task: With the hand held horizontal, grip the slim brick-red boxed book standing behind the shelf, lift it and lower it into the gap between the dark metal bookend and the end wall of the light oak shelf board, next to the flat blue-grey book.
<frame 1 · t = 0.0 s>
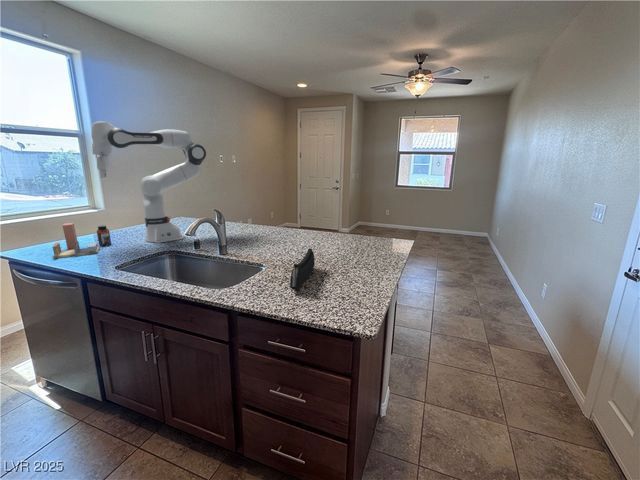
hand: (103, 177, 174), 39 cm above the worktop, tool pointing down, fingers open, 8 cm apart
flat bluegrey book: (93, 251, 170), resting on shelf
supplement bottle: (105, 244, 183), on the worktop
boxed book: (73, 248, 175), on the worktop
shelf: (77, 253, 166), on the worktop
magazine: (303, 280, 135), on the worktop
bookend: (78, 253, 165), resting on shelf
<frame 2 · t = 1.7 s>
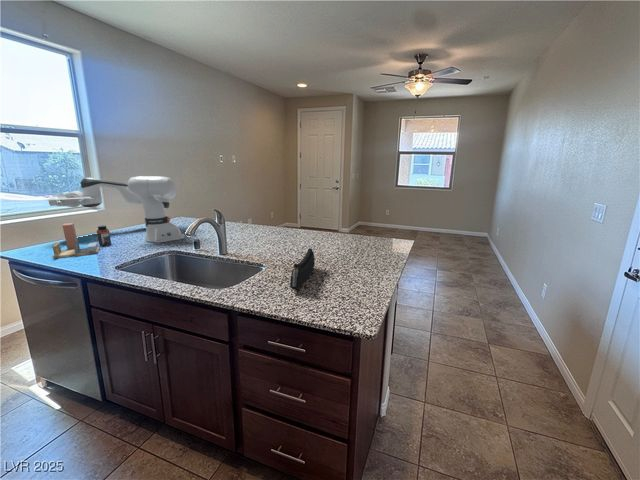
hand: (68, 202, 179), 24 cm above the worktop, tool horizontal, fingers open, 8 cm apart
nothing on the worktop moved.
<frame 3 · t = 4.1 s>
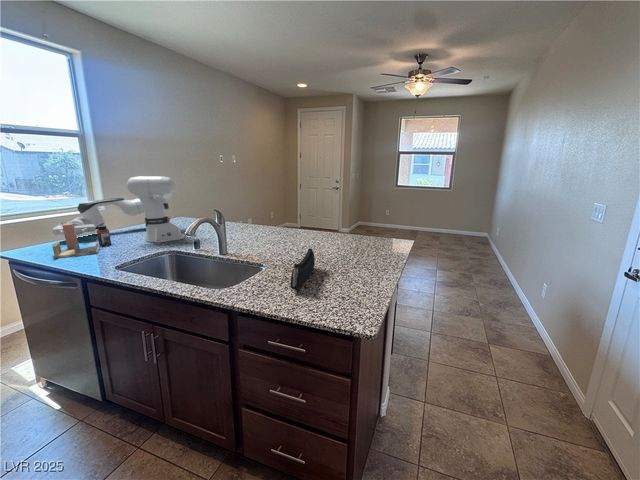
hand: (72, 232, 180), 7 cm above the worktop, tool horizontal, fingers open, 8 cm apart
nothing on the worktop moved.
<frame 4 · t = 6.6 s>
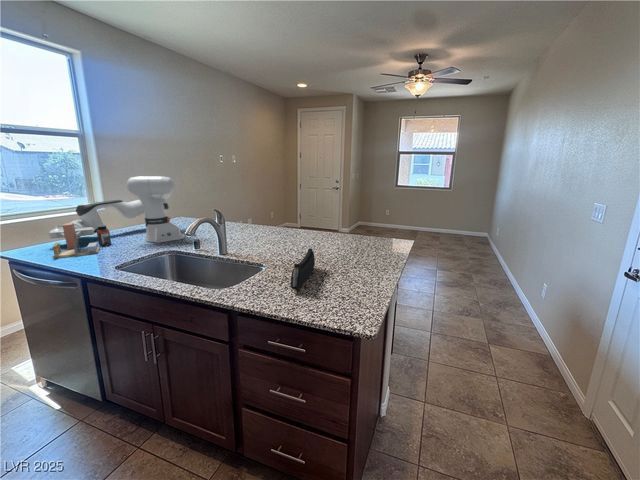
hand: (70, 235, 172), 8 cm above the worktop, tool horizontal, fingers closed on boxed book, 4 cm apart
boxed book: (73, 248, 175), on the worktop, touching gripper
everything else where it was.
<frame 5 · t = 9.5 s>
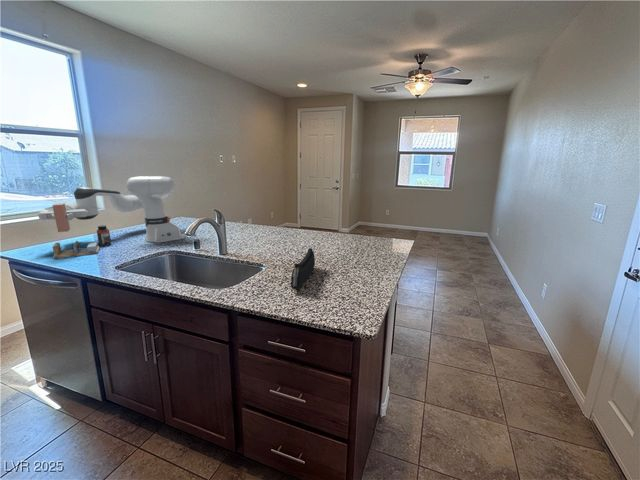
hand: (60, 216, 161), 20 cm above the worktop, tool horizontal, fingers closed on boxed book, 4 cm apart
boxed book: (64, 230, 164), point 12 cm above the worktop, touching gripper
everything else where it was.
when the fingers open (10 cm above the worktop, at t = 12.8 s): boxed book drops 1 cm, resting on shelf.
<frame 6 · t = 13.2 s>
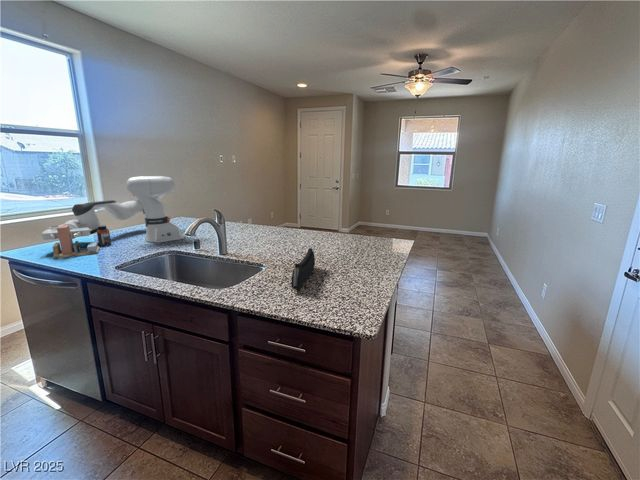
hand: (64, 236, 161), 10 cm above the worktop, tool horizontal, fingers open, 8 cm apart
boxed book: (68, 252, 164), point 1 cm above the worktop, touching shelf
everything else where it was.
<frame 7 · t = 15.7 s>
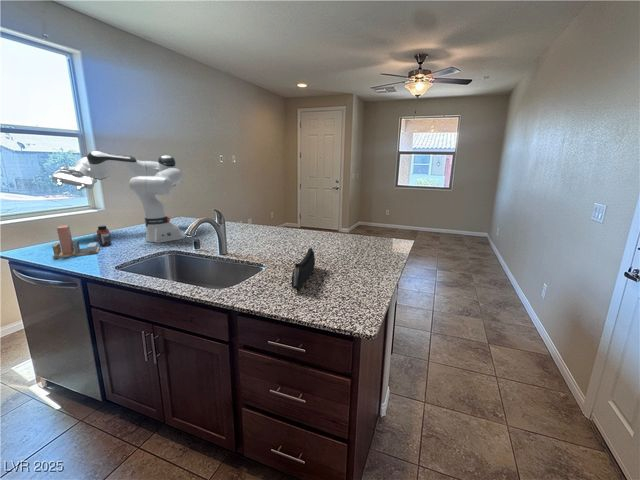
hand: (68, 187, 181), 32 cm above the worktop, tool tilted 60°, fingers open, 8 cm apart
nothing on the worktop moved.
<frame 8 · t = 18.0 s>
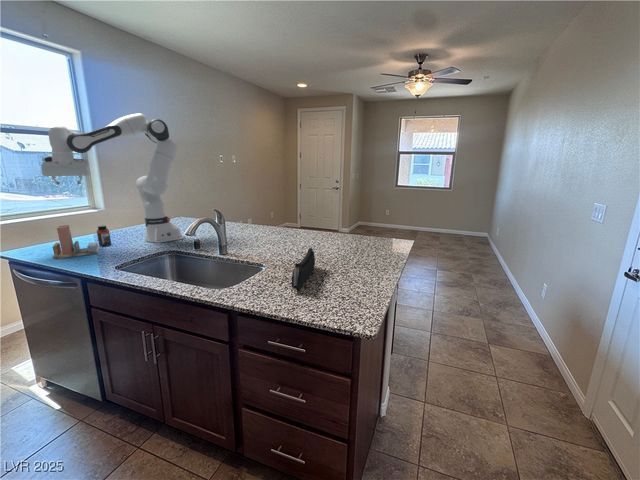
hand: (68, 184, 171), 35 cm above the worktop, tool pointing down, fingers open, 8 cm apart
nothing on the worktop moved.
at the end: boxed book inside the target area (0.4 cm from its centre), point 1.2 cm above the worktop; boxed book tilted 0°; the gripper is holding nothing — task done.
